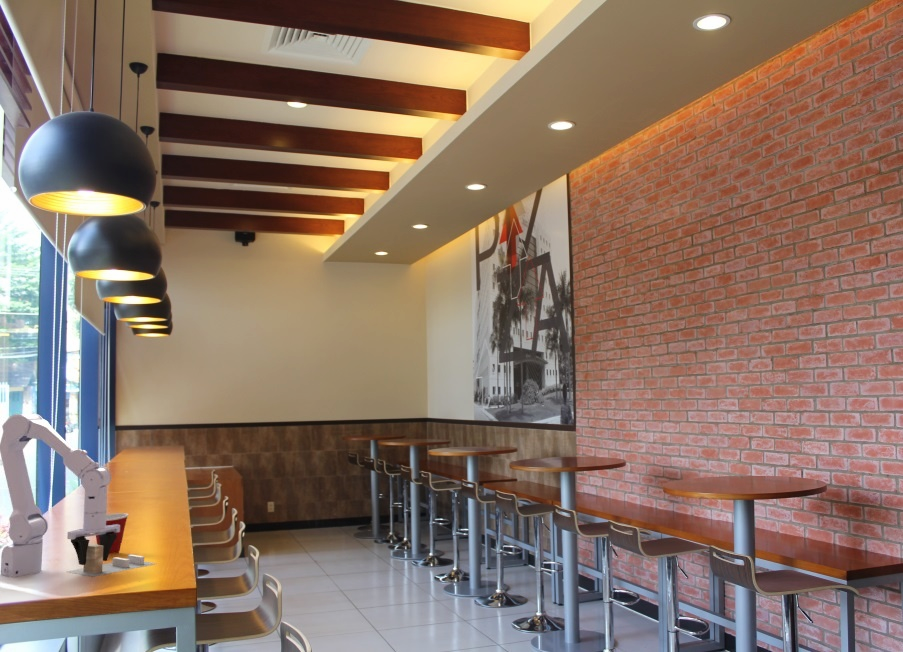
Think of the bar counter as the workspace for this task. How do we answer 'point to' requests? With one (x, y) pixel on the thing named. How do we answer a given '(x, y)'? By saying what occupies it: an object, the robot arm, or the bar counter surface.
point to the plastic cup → (115, 520)
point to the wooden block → (94, 559)
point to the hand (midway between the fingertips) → (93, 562)
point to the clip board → (117, 566)
